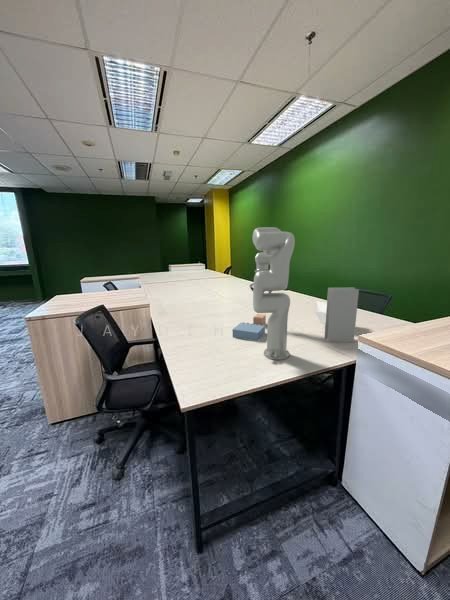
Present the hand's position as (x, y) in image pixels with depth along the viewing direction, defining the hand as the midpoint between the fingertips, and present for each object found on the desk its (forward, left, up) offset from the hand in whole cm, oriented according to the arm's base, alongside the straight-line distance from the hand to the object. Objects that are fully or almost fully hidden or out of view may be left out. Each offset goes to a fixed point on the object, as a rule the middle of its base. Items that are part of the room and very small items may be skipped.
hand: (262, 297), depth 160 cm
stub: (+2, +2, -20) cm, 20 cm away
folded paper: (+18, -42, -20) cm, 50 cm away
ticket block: (-19, +2, -20) cm, 27 cm away
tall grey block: (-7, -48, -20) cm, 52 cm away
